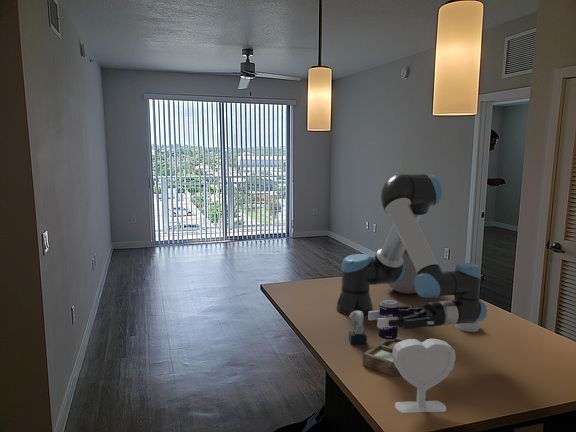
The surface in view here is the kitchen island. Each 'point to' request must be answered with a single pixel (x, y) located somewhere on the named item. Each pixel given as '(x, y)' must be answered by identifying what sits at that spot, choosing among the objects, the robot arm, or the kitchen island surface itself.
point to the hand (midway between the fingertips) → (373, 319)
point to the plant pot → (406, 277)
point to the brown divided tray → (382, 357)
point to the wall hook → (468, 326)
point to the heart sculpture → (423, 370)
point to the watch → (357, 328)
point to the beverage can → (387, 310)
